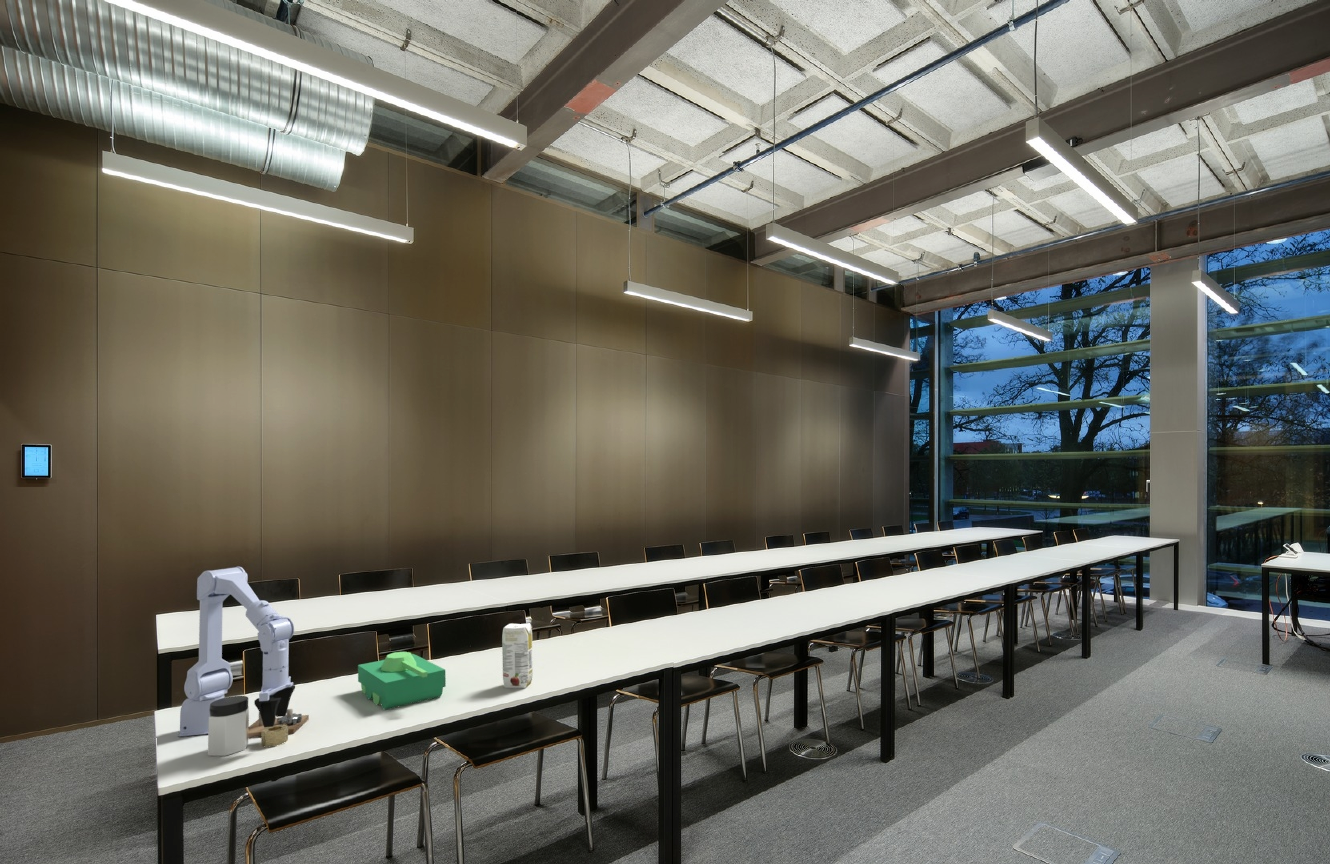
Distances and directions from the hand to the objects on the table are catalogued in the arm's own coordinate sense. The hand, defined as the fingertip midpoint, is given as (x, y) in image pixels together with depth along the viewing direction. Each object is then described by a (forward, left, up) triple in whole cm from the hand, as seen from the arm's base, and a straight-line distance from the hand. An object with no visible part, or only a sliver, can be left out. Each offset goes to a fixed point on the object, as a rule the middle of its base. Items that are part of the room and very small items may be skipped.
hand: (275, 721), depth 168 cm
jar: (-10, -2, -6) cm, 12 cm away
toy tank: (+25, +30, -6) cm, 40 cm away
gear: (-1, +11, -4) cm, 12 cm away
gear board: (-4, +11, -5) cm, 13 cm away
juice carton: (+59, +32, -6) cm, 68 cm away
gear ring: (0, 0, -5) cm, 5 cm away
